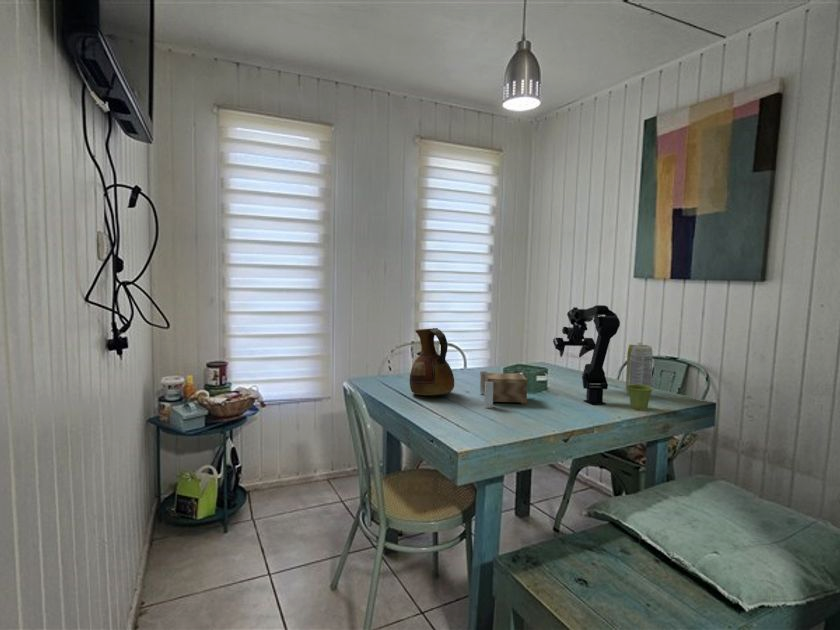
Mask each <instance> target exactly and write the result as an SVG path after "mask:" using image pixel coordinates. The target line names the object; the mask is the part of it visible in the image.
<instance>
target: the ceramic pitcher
mask: <svg viewBox="0 0 840 630" xmlns="http://www.w3.org/2000/svg"><path fill="white" fill-rule="evenodd" d="M414 333H416V334H417V335H418V338H419V342H420V347H421V350H420V355H419V356H418V357H417V358H416V359H415V360H414V362H413V364H412V366H411V370H410V372H409V373H410V375H409V388H410V390H411V392H412V393H413V394H414V395H421V396H440V395H441V396H442V395H445V394H446V395H449V394H451V393H452V392H453V390H454V388H455V377H454V372H453V369H452V368H451V366H450V364H449V362H448V361H447V360H446V356H447V352H448V341H447V337H446V335H445V333H444V332H443V331H442V330H441V329H439V328H438V327H435V328H434V327H432V328H422V329H415V331H414ZM435 337H436V338H437V340H438V342H439V345H440V351H439V354H438V352H437V350H436V347H435Z"/></svg>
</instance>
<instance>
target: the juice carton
mask: <svg viewBox="0 0 840 630" xmlns="http://www.w3.org/2000/svg"><path fill="white" fill-rule="evenodd" d="M653 356H654V353H653V348H652V346H650V345H647V344H643V342H635V344H628V347H627V355H626V374H625V375H626V378H625V379H626V381H625V390H626V394H627V396H629V397H630V395H629V390H628V387H627V386H628V385H644V386H649V387H652V377H653V376H652V373H653V359H654V358H653Z"/></svg>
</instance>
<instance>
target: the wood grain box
mask: <svg viewBox="0 0 840 630" xmlns="http://www.w3.org/2000/svg"><path fill="white" fill-rule="evenodd" d="M485 382H493V403H494V402H495V403H496V402H497V403H498V402H499V403H500V402H501V403H520V405H522V406H523V405H525V406H526V405H527V397H528V396H527V395H528V394H527V393H528V379H527V377H525V375H524V374H523V373H505V372H504V373H501V372H499V373H498V372H497V373H495V372H488V373H485ZM483 396H485V394H484V395H483Z"/></svg>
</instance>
